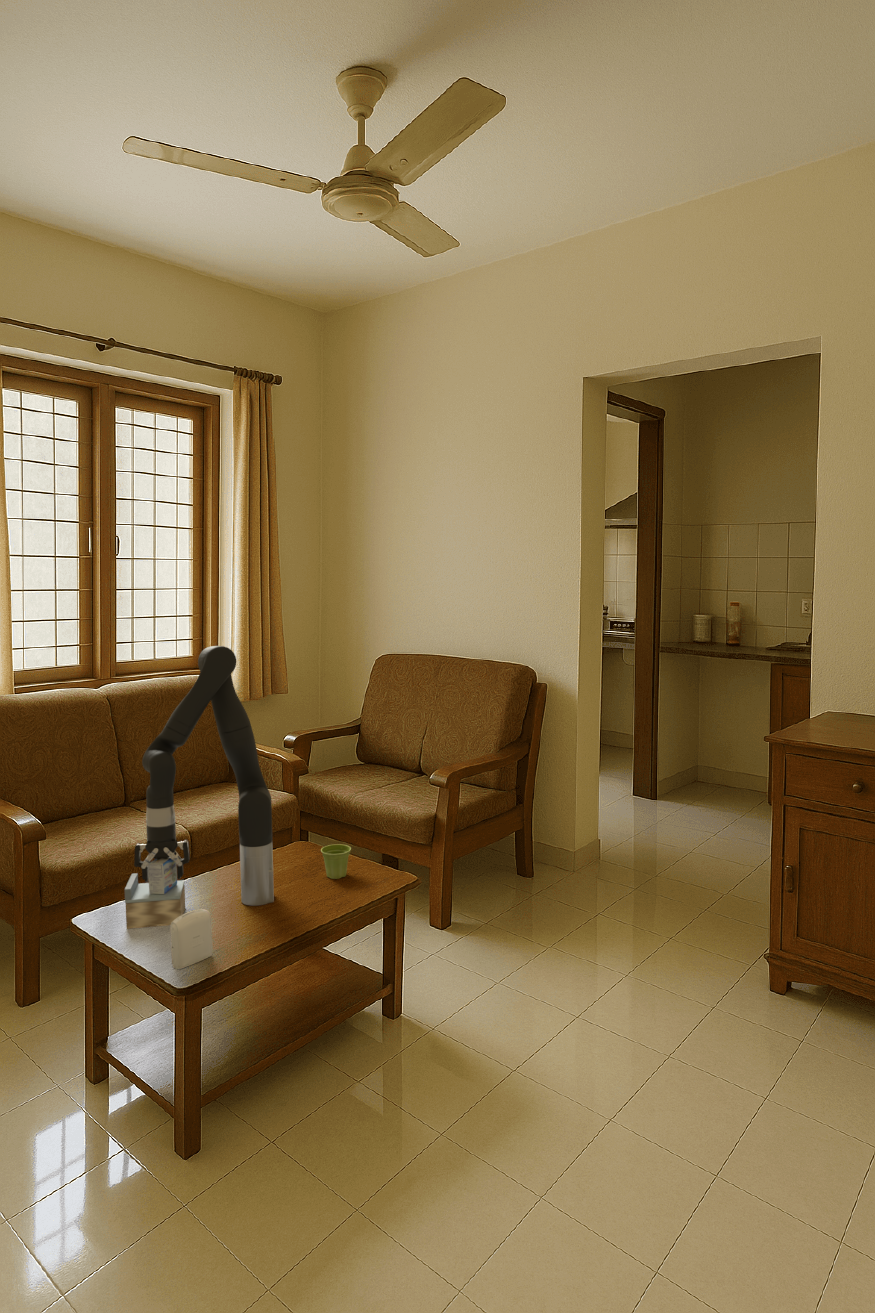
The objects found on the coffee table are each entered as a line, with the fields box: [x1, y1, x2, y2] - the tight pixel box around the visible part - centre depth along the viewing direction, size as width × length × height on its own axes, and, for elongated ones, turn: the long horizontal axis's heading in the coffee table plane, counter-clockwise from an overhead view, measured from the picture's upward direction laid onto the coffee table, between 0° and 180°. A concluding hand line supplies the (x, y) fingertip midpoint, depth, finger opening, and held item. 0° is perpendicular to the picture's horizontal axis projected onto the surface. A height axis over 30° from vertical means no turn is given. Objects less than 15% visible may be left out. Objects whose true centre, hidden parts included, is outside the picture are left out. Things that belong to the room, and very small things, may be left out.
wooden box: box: [125, 884, 186, 930], centre depth 224 cm, size 14×11×7 cm
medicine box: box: [147, 857, 178, 895], centre depth 224 cm, size 8×4×9 cm, turn 172°
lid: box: [124, 872, 186, 904], centre depth 224 cm, size 14×12×4 cm
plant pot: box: [320, 843, 352, 880], centre depth 256 cm, size 9×9×9 cm
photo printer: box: [169, 908, 214, 970], centre depth 199 cm, size 10×4×12 cm, turn 140°
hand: (163, 879), depth 224 cm, fingers open, 8 cm apart
